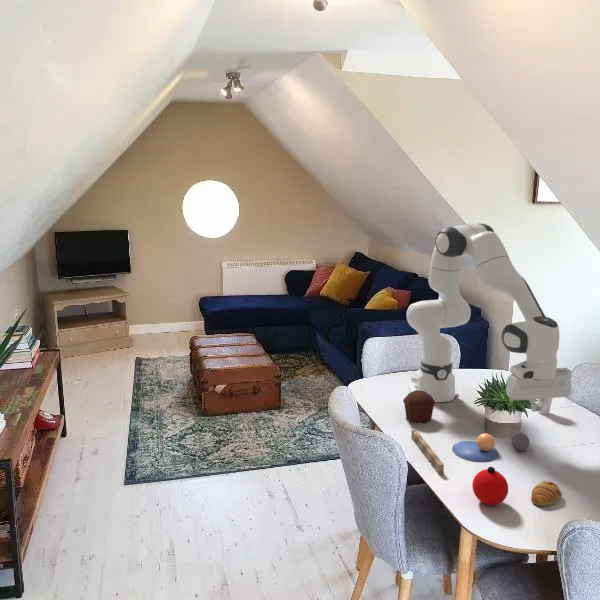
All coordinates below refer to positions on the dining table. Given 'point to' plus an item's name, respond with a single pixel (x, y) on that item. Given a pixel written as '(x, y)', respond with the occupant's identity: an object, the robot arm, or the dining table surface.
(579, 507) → the dining table surface
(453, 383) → the robot arm
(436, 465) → the wall
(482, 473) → the ornament
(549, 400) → the smoothie
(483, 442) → the object ball
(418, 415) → the muffin
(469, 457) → the blue flat disc
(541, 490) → the pastry
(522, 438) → the grey matte sphere
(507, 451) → the dining table surface
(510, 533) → the dining table surface
